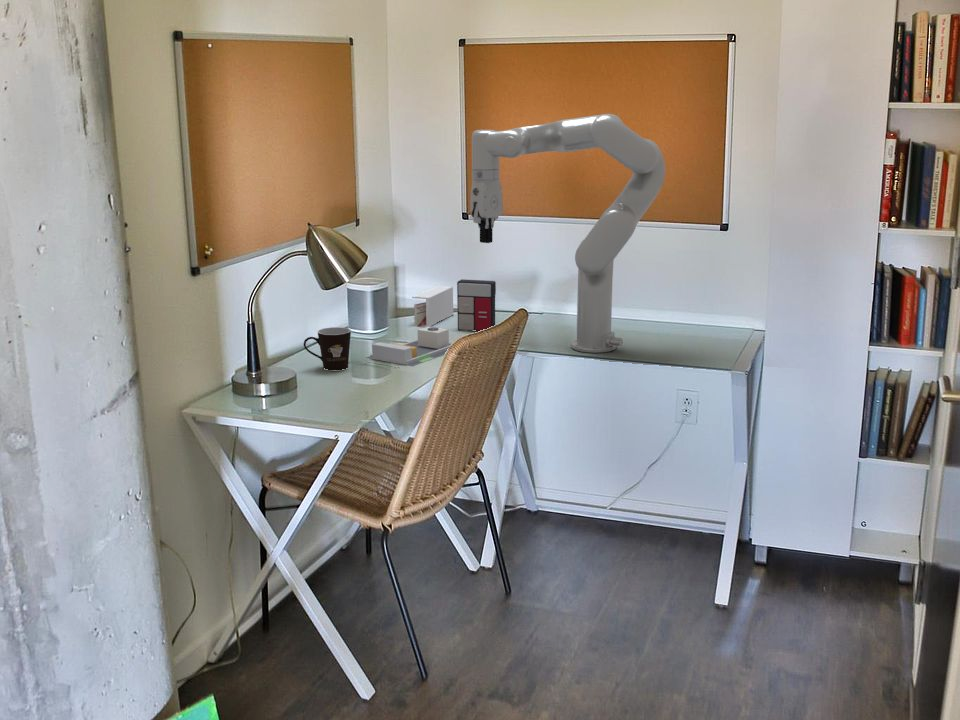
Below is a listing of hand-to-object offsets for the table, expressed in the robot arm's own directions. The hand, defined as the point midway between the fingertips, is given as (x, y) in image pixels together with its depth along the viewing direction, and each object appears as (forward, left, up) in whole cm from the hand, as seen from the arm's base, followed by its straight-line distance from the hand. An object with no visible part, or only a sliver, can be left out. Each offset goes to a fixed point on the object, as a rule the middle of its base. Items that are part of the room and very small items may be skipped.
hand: (486, 242), depth 299 cm
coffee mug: (+20, +44, -29) cm, 57 cm away
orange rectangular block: (+8, +29, -28) cm, 41 cm away
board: (+8, +22, -29) cm, 37 cm away
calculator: (+12, -12, -29) cm, 34 cm away
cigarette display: (+31, -15, -29) cm, 45 cm away
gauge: (+8, +15, -28) cm, 32 cm away
